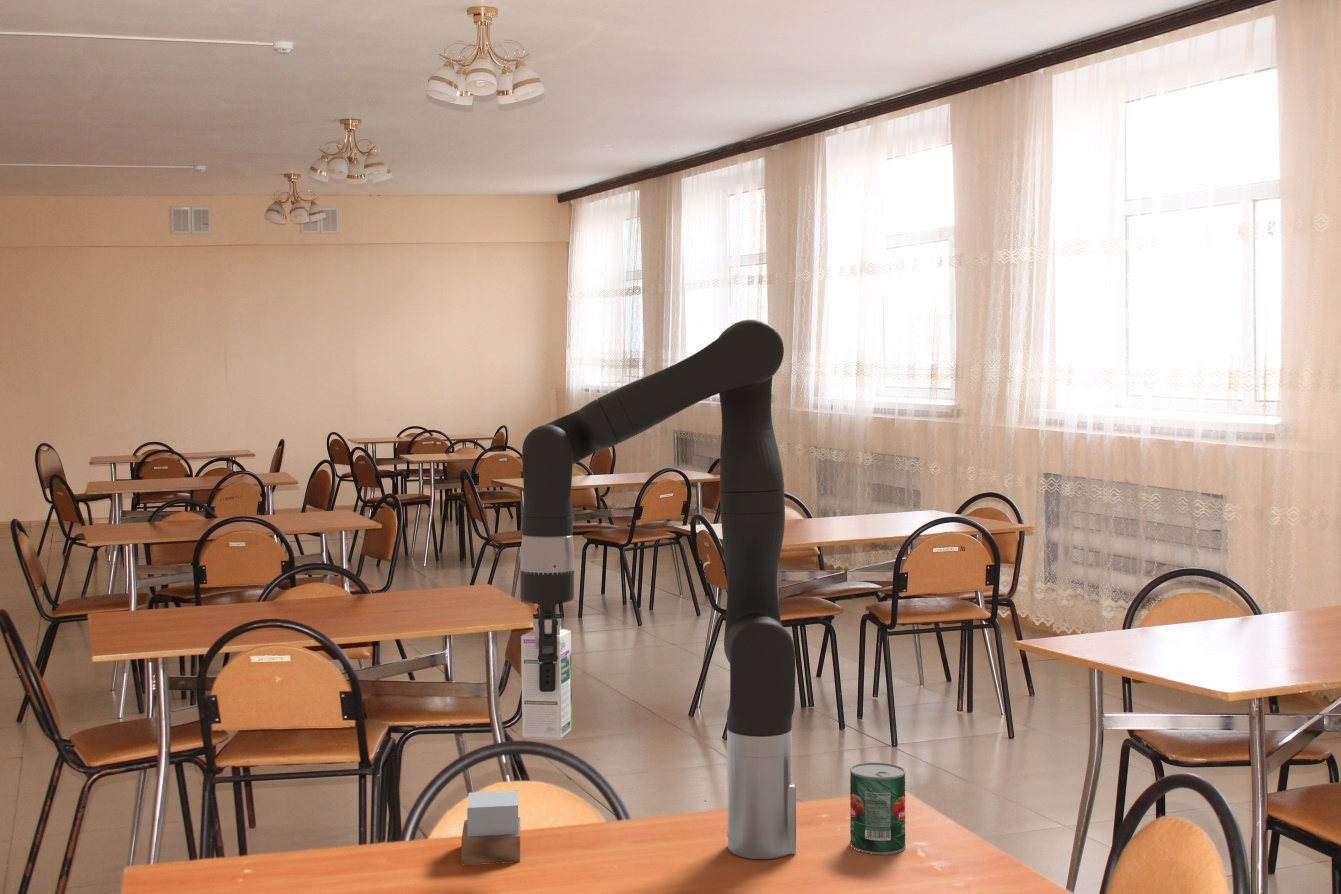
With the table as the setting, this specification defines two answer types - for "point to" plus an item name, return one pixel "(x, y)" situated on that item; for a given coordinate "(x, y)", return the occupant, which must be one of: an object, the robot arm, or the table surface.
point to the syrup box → (546, 709)
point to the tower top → (492, 813)
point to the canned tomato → (877, 808)
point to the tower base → (490, 847)
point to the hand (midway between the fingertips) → (546, 685)
